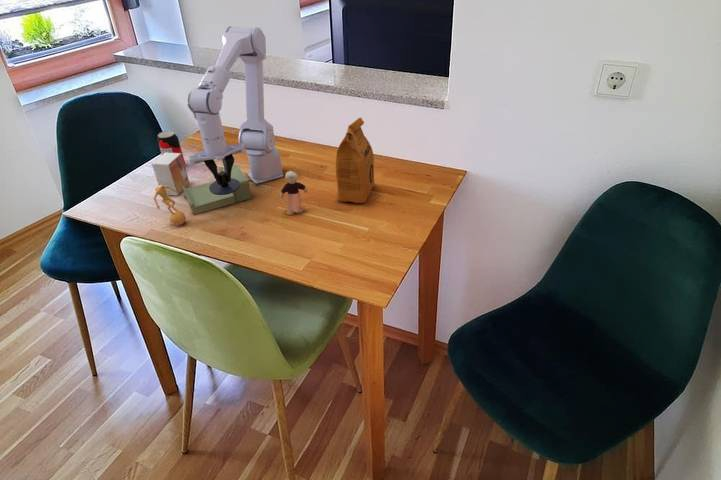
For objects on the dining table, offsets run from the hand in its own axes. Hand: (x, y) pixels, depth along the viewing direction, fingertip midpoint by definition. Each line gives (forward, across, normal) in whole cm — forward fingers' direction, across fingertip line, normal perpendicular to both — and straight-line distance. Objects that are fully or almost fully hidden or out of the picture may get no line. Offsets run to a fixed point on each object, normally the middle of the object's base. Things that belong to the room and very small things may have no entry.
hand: (223, 181), depth 131 cm
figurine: (+10, -15, +2) cm, 18 cm away
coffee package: (+10, +35, -12) cm, 38 cm away
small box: (+10, -11, +22) cm, 26 cm away
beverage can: (+10, -8, +36) cm, 39 cm away
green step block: (+9, -1, +10) cm, 13 cm away
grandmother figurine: (+10, +16, -11) cm, 21 cm away
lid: (+2, 0, 0) cm, 2 cm away
